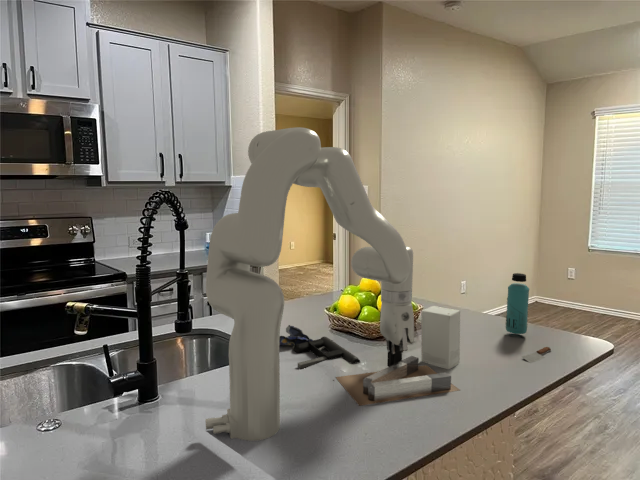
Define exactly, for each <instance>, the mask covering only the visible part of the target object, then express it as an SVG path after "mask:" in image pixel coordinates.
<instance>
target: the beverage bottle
mask: <svg viewBox="0 0 640 480" xmlns="http://www.w3.org/2000/svg"><path fill="white" fill-rule="evenodd" d="M511 277H512V278H511V281H513V282H514V283H511V284H509V285H508V286H507V298H506V300H507V301H506V316H505V326H504V327H505V330H506V332H508V333H511V334H515V335H524V334H526V333H527V332H528V318H529V314H528V313H529V296H530V295H529V294H530V288H529V286H527V285H526V284H525V283H523V282H527V275H526V274H525V273H521V272H520V273H519V272H517V273H513V274H512V276H511ZM516 282H517V283H516ZM519 282H520V283H519Z"/></svg>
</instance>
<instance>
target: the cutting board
mask: <svg viewBox="0 0 640 480" xmlns="http://www.w3.org/2000/svg"><path fill="white" fill-rule="evenodd" d="M377 372H378V371H373V372H366V373H357V374H350V375H349V374H348V375H341V376H335V379H336V380H337V381H338V382H339V383H340V385H341V386H342V387H343V389H345V391H346V392H347V393H348V394H349V396H350V397H351V398H352V399H353V400H354V402H355V403H356V404H357V406H358V407H359V406H360V407H361V406H368V405H374V404H380V403H386V402H394V401H399V400H400V401H401V400H405V399H406V400H407V399H412V398H418V397H425V396H432V395H439V394H443V393H444V394H445V393H452V392H459V391H461V389H460V388H458V387H457V386H456V385H454V384H453V383H452V382H451V390H444V391H437V392H430V393H423V394H417V395H410V396H404V397H397V398H391V399H384V400H377V401H370V400H368V394H364V393H363V379H364V378H366V377H368V376H370V375H372V374H375V373H377ZM438 373H439V372H437V371H435V370H434V369H432V367H430V366H428V365H427V364H424V365H418V370H417V371H415V372H413V373H411V374H409V375H407V376H405V377H403V378H401V379H404V378H411V377H418V376H426V375H431V374H438Z"/></svg>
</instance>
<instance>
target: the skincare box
mask: <svg viewBox="0 0 640 480" xmlns="http://www.w3.org/2000/svg"><path fill="white" fill-rule="evenodd" d="M420 337H421V345H420V346H421V351H420V352H421V357H420V358H421V362H423V363H426V364H429V365H432V366H435V367H439V368H442V369H446V370H450V369H452V368H454V367H455V366H457V365H459V364H460V363H461V361H460V359H461V357H460V355H461V352H460V351H461V310H458V309H452V308H447V307H443V306H442V307H440V306H438V305H431V306H429V307H427V308H425V309H423V310H421V336H420Z"/></svg>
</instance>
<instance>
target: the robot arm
mask: <svg viewBox="0 0 640 480" xmlns="http://www.w3.org/2000/svg"><path fill="white" fill-rule="evenodd" d="M321 144H322V143H321V139H320V136H319V135H318V134H317V133H316V132H315V131H314V130H312V129H310V128H306V127H299V126H298V127H288V128H282V129H275V130H267V131H263V132H260V133H258V134H256V135H254V136H253V138H252V139H251V140H250V143H249V144H248V150H247V154H248V155H247V156H248V159H249V161H250V163H251V165H250V166H249V168H248V169H247V172H246V174H245V175H244V178H243V181H242V186H241V190H240V199H239V203H238V211H237V212H233V213H228V214H226V215H224V216H223V217H221V218H220V219H219V220H218V221H217V222H216V223H215V224H214V227H213V228H212V231H211V234H210V237H209V245H208V257H207V263H206V265H207V267H206V276H205V277H206V281H205V294H206V299H207V302H208V303H209V305H210V306H211V308H212V309H214V310H215V311H216V312H218V313H220V314H221V315H224V316H226V317H228V318H231V319H232V320H233V321H234V324H233V328H232V331H231V334H230V338H229V340H228V342H229V343H228V363H229V364H228V366H229V367H228V370H229V372H228V374H229V408H227V409H226V414H222V415H221V416H218V417H211V418H210V417H209V418H205V430H211V429H212V432H213V434H214V435H215V434H220V433H226V434H229V437H230V439H232V440H233V439H239V440H242V441H247V442H248V441H249V442H250V441H251V442H254V441H255V442H256V441H262V440H266V439H268V438H272V437H273V436H275V435H276V434H277V433H278V432H279V430H280V428H281V396H280V395H281V390H280V389H281V386H280V385H281V384H280V383H281V379H280V378H281V375H280V369H281V367H280V362H281V361H280V359H281V358H280V345H279V339H280V336H281V333H280V332H281V326H282V319H283V316H284V315H283V314H284V309H285V297H284V296H285V295H284V293H283V290H282V288H281V286H280V285H279V284H278V283H277V282H276V281H275V280H274V279H273V278H270V277H269V276H267V275H264V274H261V273H257V272H254V271H250V269H251V266H252V267H257V268H258V267H259V268H260V267H261V268H263V267H264V268H265V267H269V266H272V265H273V264H274V263H276V262H277V261H278V259H279V257H280V255H281V251H282V245H283V236H284V227H285V215H286V207H287V200H288V195H289V192H290V191H291V188H292V186H293V184H294V185H296V186H300V187H304V188H305V187H306V188H319V189H320V190H321V193H322V194H323V197H324V198H325V201H326V203H327V204H328V207H329V209H330V211H331V214H332V216H333V218H334V219H335V222H336V223H337V224H338V225H339V226H340V227H342V228H343V229H344V230H346V231H347V232H349V233H351V234H352V235H354V236H356V237H359V238H360V239H362V240H363V241H364V242H366V243H367V244H368V245H370V246H365V247H362V248H359V249H358V250H356V251H355V252H354V253H353V255H352V256H351V260H350V261H351V262H350V266H351V268H352V272H354V274H356V275H357V276H358V277H361V278H364V279H368V280H372V281H377V282H380V283H381V284H380V286H381V287H380V302H381V306H380V319H379V331H380V335H382V336H383V338H384V339H385V342H386V350H387V366H386V367H389V366H392V365H394V364H396V363H398V362H400V361H401V360H403V353H404V352H408V349H409V346H408V344H413V343H414V342H415V318H414V309H413V304H412V303H413V275H414V269H413V268H414V252H413V249H412V248H411V247H410V246H407V245H406V244H405V241H404V239H403V237H402V236H401V234H400V232H399V231H398V230H397V229H396V228H395V226H394V225H393V224H391V223H390V222H389V220H387V218H385V216H384V215H383V214H382V213H380V212H379V211H378V210H377V209H376V208H375V207H374V206H373V205H372V202H371V201H370V199H369V196H368V194H367V191H366V189H365V187H364V184H363V182H362V180H361V179H362V178H361V176H360V174H359V172H358V170H357V168H356V166H355V163H354V161H353V158H352V156H351V154H350V153H349V152H348V151H347V150H345V149H344V148H341V147H336V146H335V147H334V146H333V147H332V146H330V147H329V146H327V147H322V145H321Z"/></svg>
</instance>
